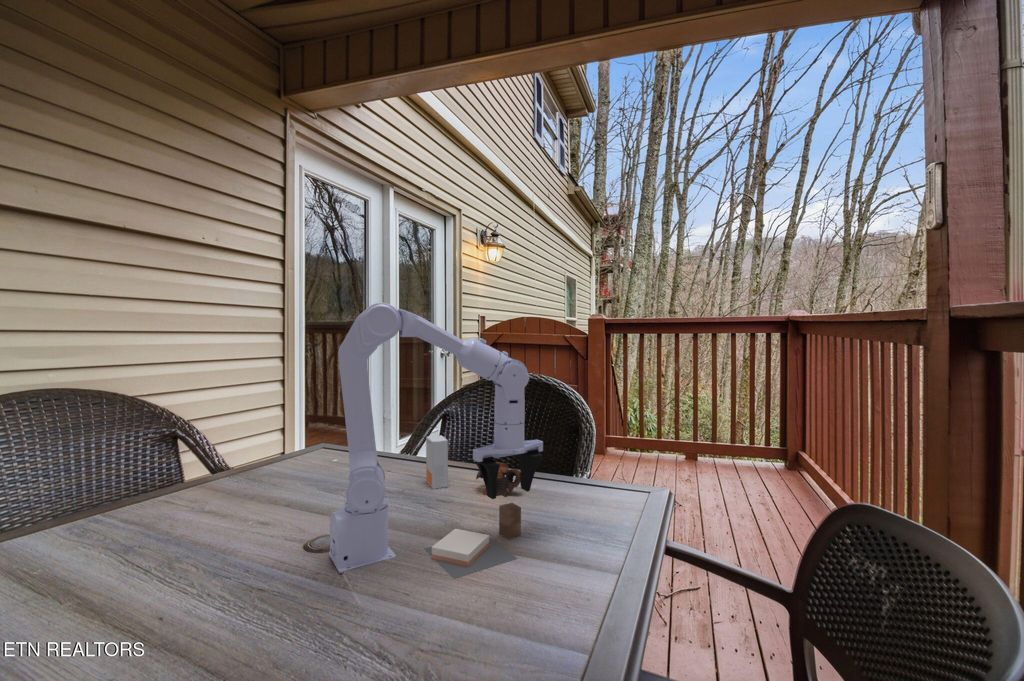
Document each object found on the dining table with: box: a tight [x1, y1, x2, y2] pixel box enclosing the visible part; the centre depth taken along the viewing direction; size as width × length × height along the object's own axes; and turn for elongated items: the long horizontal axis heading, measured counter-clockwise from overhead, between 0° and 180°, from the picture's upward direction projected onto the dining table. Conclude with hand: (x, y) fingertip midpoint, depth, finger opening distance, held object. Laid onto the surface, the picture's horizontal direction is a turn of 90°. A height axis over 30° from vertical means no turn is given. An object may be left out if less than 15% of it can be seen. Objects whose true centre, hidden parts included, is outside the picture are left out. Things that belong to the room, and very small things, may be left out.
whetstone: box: [431, 528, 490, 567], centre depth 82 cm, size 8×2×7 cm
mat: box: [424, 532, 518, 580], centre depth 82 cm, size 12×12×1 cm
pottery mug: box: [475, 462, 521, 498], centre depth 115 cm, size 12×10×8 cm
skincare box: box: [425, 434, 449, 490], centre depth 120 cm, size 6×4×12 cm
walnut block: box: [498, 502, 522, 540], centre depth 90 cm, size 3×3×6 cm
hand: (508, 493), depth 89 cm, fingers open, 7 cm apart
